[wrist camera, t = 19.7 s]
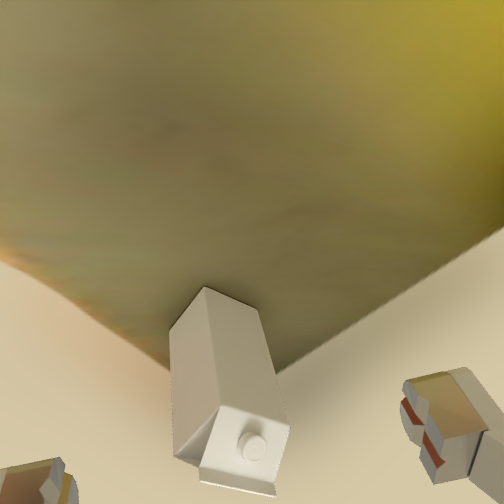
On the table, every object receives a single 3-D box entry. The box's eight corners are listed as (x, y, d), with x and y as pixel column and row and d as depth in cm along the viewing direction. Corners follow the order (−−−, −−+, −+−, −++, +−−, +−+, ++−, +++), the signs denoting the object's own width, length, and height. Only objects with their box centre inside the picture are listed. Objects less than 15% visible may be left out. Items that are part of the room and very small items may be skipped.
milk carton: (222, 350, 52) (250, 520, 36) (168, 330, 49) (174, 506, 33) (257, 308, 49) (304, 472, 34) (203, 284, 46) (227, 453, 31)
